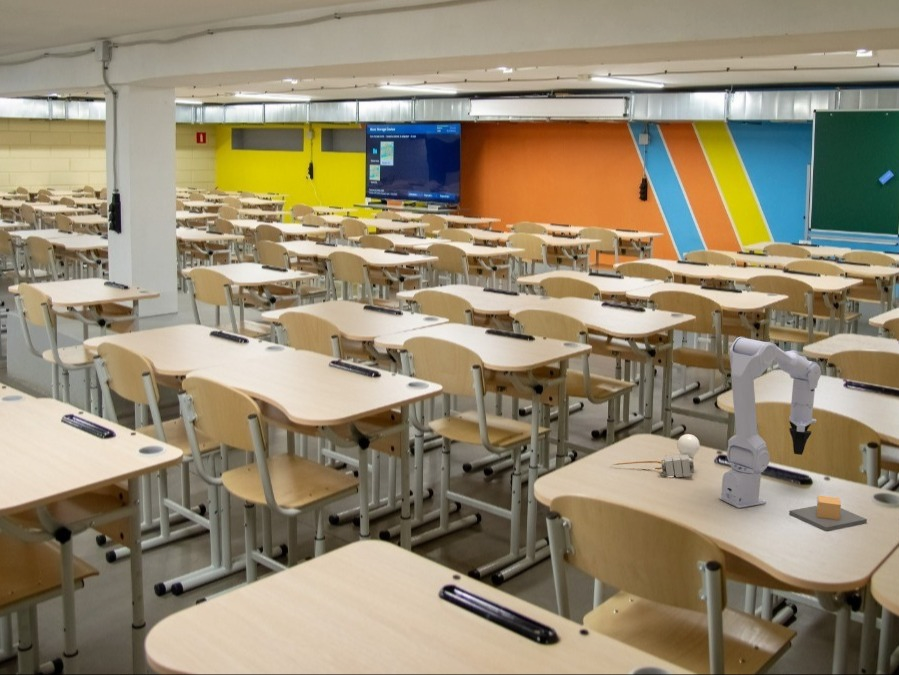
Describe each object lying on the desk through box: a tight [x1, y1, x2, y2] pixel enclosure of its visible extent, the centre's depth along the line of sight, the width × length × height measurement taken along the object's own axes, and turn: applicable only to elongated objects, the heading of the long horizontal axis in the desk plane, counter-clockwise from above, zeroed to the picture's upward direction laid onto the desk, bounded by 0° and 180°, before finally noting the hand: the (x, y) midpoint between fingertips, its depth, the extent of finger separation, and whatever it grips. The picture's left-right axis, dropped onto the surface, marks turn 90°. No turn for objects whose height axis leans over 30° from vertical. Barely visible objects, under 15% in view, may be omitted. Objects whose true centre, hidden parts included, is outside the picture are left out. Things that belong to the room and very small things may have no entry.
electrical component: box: [612, 454, 695, 478], centre depth 269 cm, size 24×6×5 cm, turn 77°
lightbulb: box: [676, 433, 701, 459], centre depth 270 cm, size 6×6×11 cm
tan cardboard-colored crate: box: [816, 494, 842, 520], centre depth 236 cm, size 5×5×4 cm
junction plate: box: [788, 505, 868, 532], centre depth 236 cm, size 14×12×4 cm
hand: (797, 450), depth 259 cm, fingers open, 7 cm apart
